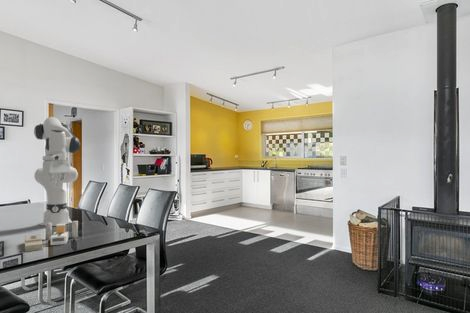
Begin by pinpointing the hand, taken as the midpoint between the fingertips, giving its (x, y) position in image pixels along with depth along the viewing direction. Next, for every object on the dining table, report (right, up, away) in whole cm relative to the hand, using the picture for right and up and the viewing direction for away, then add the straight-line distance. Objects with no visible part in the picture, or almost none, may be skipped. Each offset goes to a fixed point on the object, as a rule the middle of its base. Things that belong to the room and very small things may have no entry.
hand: (57, 181), depth 177 cm
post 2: (+12, -32, -3) cm, 34 cm away
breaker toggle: (+8, -28, -10) cm, 30 cm away
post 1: (0, -32, -8) cm, 33 cm away
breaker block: (+9, -32, -12) cm, 35 cm away
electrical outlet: (0, -32, -21) cm, 39 cm away
